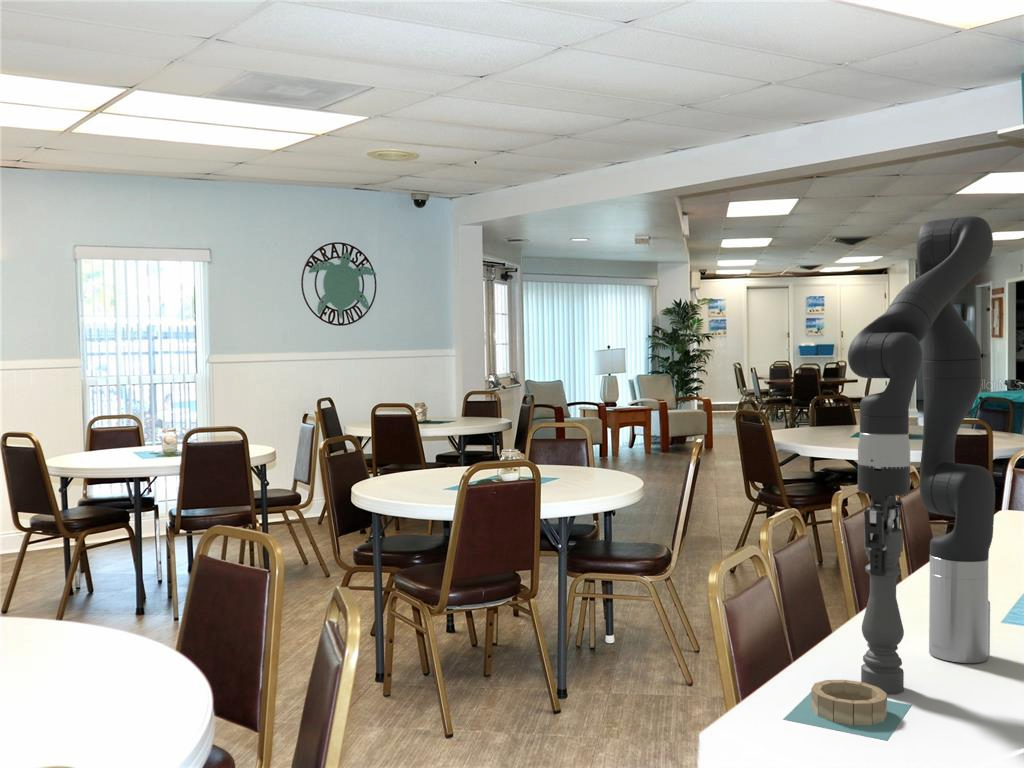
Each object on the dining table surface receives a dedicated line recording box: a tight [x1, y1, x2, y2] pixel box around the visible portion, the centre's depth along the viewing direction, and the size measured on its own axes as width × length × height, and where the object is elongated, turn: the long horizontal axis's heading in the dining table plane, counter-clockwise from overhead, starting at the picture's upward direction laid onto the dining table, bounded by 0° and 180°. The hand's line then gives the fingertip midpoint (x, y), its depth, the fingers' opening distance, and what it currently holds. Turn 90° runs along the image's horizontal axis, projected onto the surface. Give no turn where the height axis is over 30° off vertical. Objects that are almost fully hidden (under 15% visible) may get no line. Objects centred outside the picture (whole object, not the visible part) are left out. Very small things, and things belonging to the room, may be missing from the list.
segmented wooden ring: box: [810, 679, 888, 725], centre depth 139 cm, size 10×10×3 cm
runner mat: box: [782, 691, 913, 742], centre depth 139 cm, size 16×14×1 cm
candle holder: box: [860, 527, 905, 696], centre depth 149 cm, size 6×6×25 cm
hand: (882, 571), depth 149 cm, fingers closed on candle holder, 5 cm apart
